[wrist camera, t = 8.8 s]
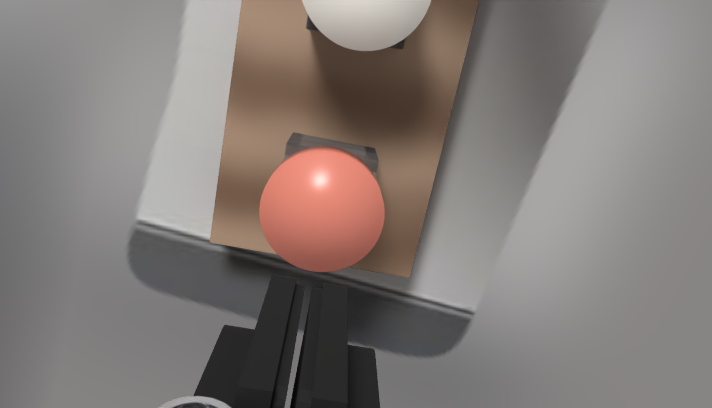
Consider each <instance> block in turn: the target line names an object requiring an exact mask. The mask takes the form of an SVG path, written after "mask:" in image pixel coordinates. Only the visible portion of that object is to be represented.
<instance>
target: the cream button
mask: <svg viewBox="0 0 712 408" xmlns="http://www.w3.org/2000/svg"><path fill="white" fill-rule="evenodd" d="M302 2H303V5H304V7H305V9H306V12H307V14H308V15H309V17H310V19H311V21H312V22H313V23H314V25H315V26H316V27H317V28H318V29H319V30H320V32H321V33H322V34H324V35H325V36H326V37H327V38H329V39H330V40H331V41H333V42H334V43H336V44H338V45H340V46H342V47H345V48H348V49H352V50H357V51H375V50H381V49H384V48H388V47H390V46H392V45H395V44H397V43H398V42H400V41H402V40H403V39H405V38H406V37H407V36H408V35H410V34H411V33H412V32H413V31H414V30H415V29H416V28H417V26H418V25H419V24H420V22H421V21H422V19H423V18H424V16H425V14H426V12H427V10H428V8H429V5H430V3H431V0H302Z"/></svg>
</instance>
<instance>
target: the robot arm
mask: <svg viewBox="0 0 712 408" xmlns="http://www.w3.org/2000/svg"><path fill="white" fill-rule="evenodd" d="M296 280H297V277H291V276H285V275H279V274H274V273H273V274H272V277H271V280H270V283H269V287H268V290H267V293H266V296H265V299H264V302H263V305H262V309H261V312H260V315H259V318H258V321H257V325H256V328H255V330H254V329H247V328H241V327H235V326H229V325H224V327H223V329H222V331H221V333H220V335H219V338H218V340H217V342H216V345H215V347H214V349H213V352H212V354H211V356H210V359H209V361H208V363H207V366H206V368H205V370H204V372H203V375H202V377H201V380H200V382H199V384H198V386H197V389H196V391H195V393H194V396H190V397H182V398H179V399H175V400H171V401H169V402H167V403H165V404H163V405H162V406H160V407H158V408H284V406H285V401H286V395H287V390H288V384H289V378H290V372H291V366H292V360H293V354H294V348H295V342H296V336H297V331H298V325H299V319H300V313H301V307H302V301H303V295H304V289H305V285H300V284H296ZM290 408H380V402H379V391H378V380H377V370H376V358H375V351H374V349H371V348H365V347H359V346H352V345H348V336H347V286H344V285H338V284H332V283H326V282H323V285H322V288H317V287H313V288H312V293H311V298H310V304H309V309H308V314H307V319H306V325H305V330H304V335H303V341H302V346H301V351H300V356H299V362H298V367H297V373H296V377H295V383H294V388H293V394H292V399H291V405H290Z"/></svg>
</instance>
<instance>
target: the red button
mask: <svg viewBox="0 0 712 408" xmlns="http://www.w3.org/2000/svg"><path fill="white" fill-rule="evenodd" d="M259 216H260V223H261V227H262V230H263V233H264V236H265V238H266V240H267V241H268V243H269V244H270V246H271V247H272V249H273V250H274V251H275V252H276V253H277V254H278V255H279V256H280V257H281V258H283V259H284V260H285V261H287V262H288V263H290V264H292V265H294V266H296V267H299V268H301V269H304V270H308V271H314V272H331V271H337V270H341V269H344V268H347V267H349V266H351V265H353V264H355V263H357V262H358V261H360V260H361V259H362V258H364V257H365V256H366V255H367V254H368V253H369V252H370V251H371V249H372V248H373V247H374V245H375V244H376V242H377V241H378V239H379V237H380V234H381V232H382V228H383V224H384V218H385V209H384V202H383V198H382V194H381V190H380V186H379V184H378V181H377V179H376V177H375V175H374V174H373V172H372V171H371V169H370V168H369V167H368V166H367V165H366V164H365V163H364V162H363V161H362V160H361V159H359V158H358V157H357V156H355V155H353V154H352V153H350V152H348V151H345V150H343V149H339V148H336V147H329V146H316V147H310V148H306V149H303V150H300V151H298V152H295V153H294V154H292V155H290V156H289V157H287V158H286V159H285V160H284V161H282V162H281V163H280V165H279V166H278V167H277V168H276V169H275V171H274V172H273V174H272V175H271V177H270V179H269V180H268V182H267V184H266V186H265V188H264V190H263V193H262V196H261V200H260V208H259Z"/></svg>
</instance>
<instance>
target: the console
mask: <svg viewBox="0 0 712 408" xmlns="http://www.w3.org/2000/svg"><path fill="white" fill-rule="evenodd" d="M478 3H479V0H431V3H430V5H429V8H428V10H427V12H426V14H425V16H424V18H423V19H422V21H421V22H420V24H419V25H418V26H417V28H416V29H415V30H414V31H413V32H412V33H411V34H410V35H408V36H407V37H406V38H405V39H403V40H402V41H400V42H398V43H397V44H395V45H392V46H390V47H388V48H384V49H381V50H375V51H357V50H352V49H348V48H345V47H342V46H340V45H338V44H336V43H334V42H333V41H331V40H330V39H329V38H327V37H326V36H325V35H324V34H322V33H321V32H320V30H319V29H318V28H317V27H316V26H315V25H314V23H313V22H312V21H311V19H310V17H309V15H308V14H307V12H306V9H305V7H304V5H303V2H302V0H242V3H241V11H240V18H239V26H238V33H237V41H236V48H235V56H234V63H233V71H232V78H231V86H230V94H229V101H228V109H227V116H226V124H225V131H224V139H223V146H222V154H221V161H220V169H219V176H218V184H217V191H216V199H215V207H214V214H213V222H212V229H211V237H210V242H211V243H216V244H222V245H227V246H233V247H239V248H244V249H250V250H255V251H261V252H267V253H272V254H277V253H276V252H275V251H274V250H273V249H272V247H271V246H270V244H269V243H268V241H267V240H266V238H265V236H264V233H263V230H262V227H261V223H260V216H259V208H260V200H261V196H262V193H263V190H264V188H265V186H266V184H267V182H268V180H269V179H270V177H271V175H272V174H273V172H274V171H275V169H276V168H277V167H278V166H279V165H280V163H281V162H282V161H284V160H285V159H286V158H287V157H289V156H290V155H292V154H294V153H295V152H298V151H300V150H303V149H306V148H310V147H316V146H329V147H336V148H339V149H343V150H345V151H348V152H350V153H352V154H353V155H355V156H357V157H358V158H359V159H361V160H362V161H363V162H364V163H365V164H366V165H367V166H368V167H369V168H370V169H371V171H372V172H373V174H374V175H375V177H376V179H377V181H378V184H379V186H380V190H381V194H382V198H383V202H384V209H385V218H384V224H383V228H382V232H381V234H380V237H379V239H378V241H377V242H376V244H375V245H374V247H373V248H372V249H371V251H370V252H369V253H368V254H367V255H366V256H365V257H364V258H362V259H361V260H360V261H358V262H357V263H355V264H353V265H351V266H349V267H351V268H357V269H362V270H368V271H373V272H379V273H385V274H390V275H396V276H401V277H407V278H410V275H411V271H412V267H413V263H414V259H415V255H416V251H417V247H418V243H419V239H420V235H421V231H422V227H423V223H424V219H425V215H426V211H427V207H428V203H429V199H430V195H431V191H432V187H433V183H434V179H435V175H436V171H437V167H438V163H439V159H440V155H441V151H442V147H443V143H444V139H445V135H446V131H447V127H448V123H449V119H450V115H451V111H452V107H453V103H454V99H455V95H456V91H457V87H458V83H459V79H460V75H461V71H462V67H463V63H464V59H465V55H466V51H467V47H468V43H469V39H470V35H471V31H472V27H473V23H474V19H475V15H476V11H477V7H478Z"/></svg>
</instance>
